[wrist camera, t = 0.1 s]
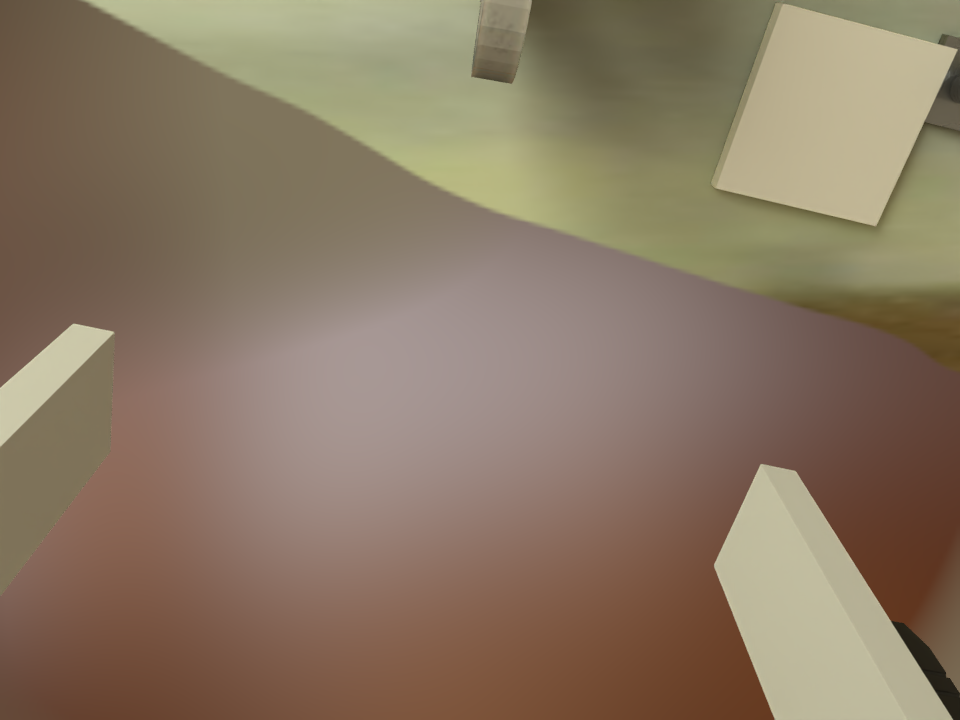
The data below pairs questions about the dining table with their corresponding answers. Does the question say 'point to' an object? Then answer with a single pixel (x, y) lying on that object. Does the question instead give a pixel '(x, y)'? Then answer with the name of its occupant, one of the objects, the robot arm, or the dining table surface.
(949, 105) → the jointed bar linkage
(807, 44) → the pad
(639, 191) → the dining table surface
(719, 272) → the dining table surface
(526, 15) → the mug
